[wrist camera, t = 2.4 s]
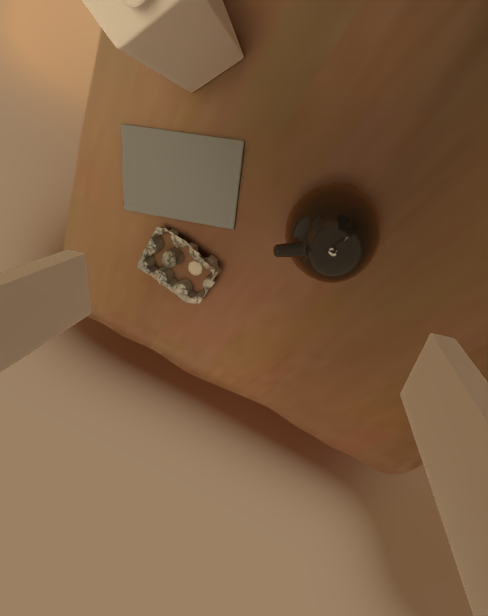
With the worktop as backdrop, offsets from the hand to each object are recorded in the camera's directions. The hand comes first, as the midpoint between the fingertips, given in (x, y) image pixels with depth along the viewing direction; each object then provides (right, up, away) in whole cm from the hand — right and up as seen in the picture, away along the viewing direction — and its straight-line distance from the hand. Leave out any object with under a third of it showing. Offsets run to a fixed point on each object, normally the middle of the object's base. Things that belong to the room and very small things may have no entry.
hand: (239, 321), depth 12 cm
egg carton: (-8, +7, +34) cm, 36 cm away
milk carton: (-4, +30, +22) cm, 37 cm away
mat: (-8, +18, +28) cm, 34 cm away
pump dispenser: (+11, +11, +27) cm, 31 cm away
